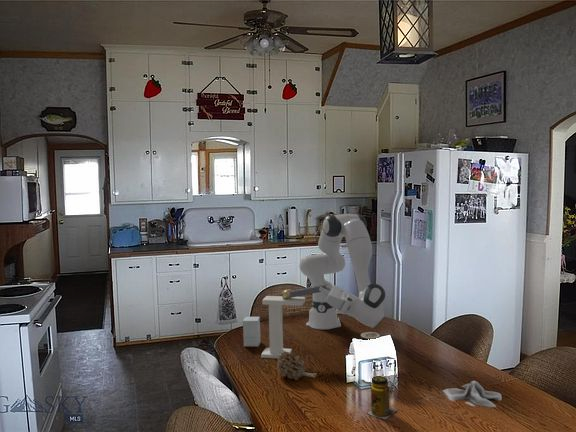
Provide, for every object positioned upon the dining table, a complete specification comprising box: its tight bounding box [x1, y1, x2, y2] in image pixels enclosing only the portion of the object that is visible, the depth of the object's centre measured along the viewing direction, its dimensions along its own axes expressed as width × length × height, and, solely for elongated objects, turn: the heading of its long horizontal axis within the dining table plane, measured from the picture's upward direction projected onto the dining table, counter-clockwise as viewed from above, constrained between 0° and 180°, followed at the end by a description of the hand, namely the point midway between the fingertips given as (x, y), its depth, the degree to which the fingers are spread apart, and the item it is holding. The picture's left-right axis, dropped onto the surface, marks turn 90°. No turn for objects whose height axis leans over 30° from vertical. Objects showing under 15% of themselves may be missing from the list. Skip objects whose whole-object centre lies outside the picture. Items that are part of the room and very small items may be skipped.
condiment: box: [366, 375, 398, 420], centre depth 171 cm, size 7×8×12 cm
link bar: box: [281, 284, 327, 299], centre depth 223 cm, size 4×20×3 cm, turn 78°
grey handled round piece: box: [276, 352, 318, 381], centre depth 199 cm, size 22×10×10 cm, turn 47°
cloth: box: [442, 380, 503, 408], centre depth 181 cm, size 22×19×6 cm
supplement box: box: [242, 316, 262, 347], centre depth 243 cm, size 7×7×13 cm
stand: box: [260, 295, 306, 359], centre depth 227 cm, size 9×19×26 cm, turn 78°
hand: (320, 286), depth 222 cm, fingers closed on link bar, 3 cm apart
